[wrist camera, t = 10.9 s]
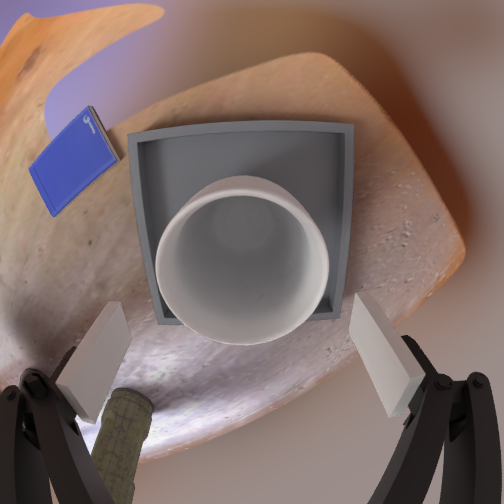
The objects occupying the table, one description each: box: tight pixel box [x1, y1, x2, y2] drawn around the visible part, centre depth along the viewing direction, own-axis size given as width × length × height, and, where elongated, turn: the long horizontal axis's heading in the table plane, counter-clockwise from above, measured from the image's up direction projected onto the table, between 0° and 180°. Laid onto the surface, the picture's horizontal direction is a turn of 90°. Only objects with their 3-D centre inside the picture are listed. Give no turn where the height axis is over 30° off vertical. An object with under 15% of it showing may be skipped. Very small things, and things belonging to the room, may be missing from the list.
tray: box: [127, 120, 354, 325], centre depth 28 cm, size 22×22×3 cm
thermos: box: [90, 388, 154, 504], centre depth 26 cm, size 9×12×35 cm
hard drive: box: [29, 106, 120, 217], centre depth 26 cm, size 2×8×12 cm
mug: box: [155, 175, 329, 345], centre depth 23 cm, size 15×11×13 cm
